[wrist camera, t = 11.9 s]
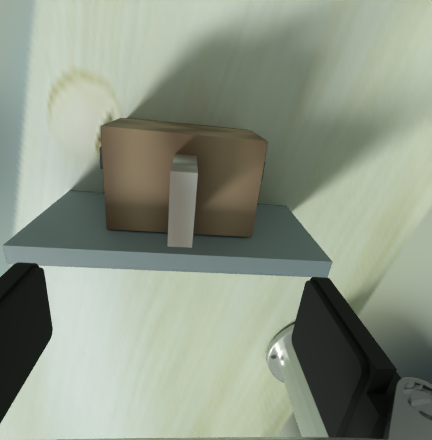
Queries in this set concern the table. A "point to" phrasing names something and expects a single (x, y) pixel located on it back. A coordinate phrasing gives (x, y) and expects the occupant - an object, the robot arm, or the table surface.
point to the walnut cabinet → (181, 178)
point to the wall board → (164, 244)
